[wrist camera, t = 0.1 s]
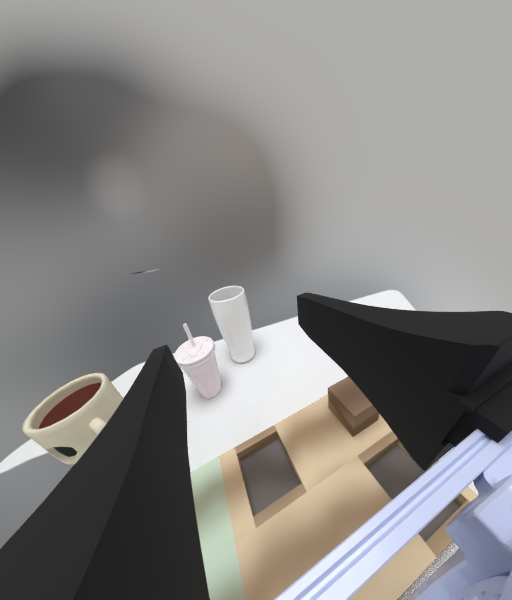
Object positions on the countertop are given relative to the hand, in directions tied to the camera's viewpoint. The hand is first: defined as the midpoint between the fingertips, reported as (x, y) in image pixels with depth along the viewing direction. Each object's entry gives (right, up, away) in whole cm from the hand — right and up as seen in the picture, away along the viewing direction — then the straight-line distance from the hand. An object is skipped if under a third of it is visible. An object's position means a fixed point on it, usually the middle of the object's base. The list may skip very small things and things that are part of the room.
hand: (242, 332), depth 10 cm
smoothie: (-7, -15, +24) cm, 29 cm away
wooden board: (+5, -19, +9) cm, 22 cm away
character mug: (-17, -21, +16) cm, 31 cm away
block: (+13, -13, +14) cm, 23 cm away
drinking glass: (-2, -10, +30) cm, 32 cm away
